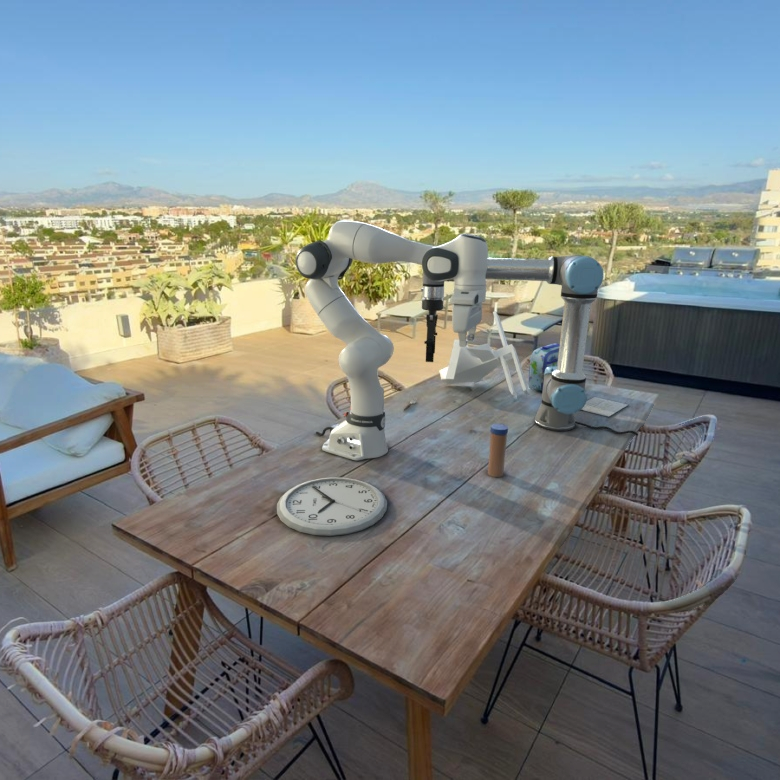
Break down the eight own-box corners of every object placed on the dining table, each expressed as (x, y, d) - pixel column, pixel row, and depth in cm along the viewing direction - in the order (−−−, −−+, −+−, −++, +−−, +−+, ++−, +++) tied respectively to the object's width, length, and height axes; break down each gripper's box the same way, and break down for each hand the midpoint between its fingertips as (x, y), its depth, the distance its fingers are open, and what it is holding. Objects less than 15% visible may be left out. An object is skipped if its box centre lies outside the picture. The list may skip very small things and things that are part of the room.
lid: (487, 430, 160) (487, 425, 159) (500, 427, 162) (501, 422, 162) (497, 436, 156) (497, 431, 155) (511, 433, 158) (511, 428, 157)
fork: (400, 411, 216) (400, 406, 215) (412, 399, 230) (412, 395, 230) (406, 412, 215) (406, 407, 215) (418, 400, 230) (418, 396, 229)
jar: (484, 471, 164) (488, 426, 159) (497, 469, 166) (500, 424, 162) (493, 478, 160) (497, 432, 155) (506, 475, 162) (510, 429, 157)
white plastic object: (461, 429, 252) (437, 405, 227) (444, 352, 274) (420, 323, 250) (535, 404, 240) (518, 377, 215) (510, 326, 262) (492, 293, 237)
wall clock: (392, 527, 129) (268, 531, 127) (391, 533, 130) (269, 537, 127) (383, 473, 158) (282, 475, 155) (383, 478, 158) (282, 480, 156)
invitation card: (608, 416, 214) (573, 407, 224) (608, 416, 214) (573, 408, 224) (628, 404, 229) (594, 396, 238) (628, 405, 229) (594, 397, 238)
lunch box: (544, 395, 239) (549, 351, 233) (524, 390, 247) (528, 347, 240) (571, 384, 257) (577, 343, 251) (552, 380, 264) (556, 339, 258)
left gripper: (467, 290, 156) (465, 335, 161) (449, 298, 138) (446, 349, 142) (488, 291, 154) (485, 337, 158) (472, 299, 136) (469, 351, 140)
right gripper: (424, 293, 195) (422, 349, 202) (419, 302, 172) (417, 365, 178) (444, 294, 195) (441, 350, 201) (442, 303, 171) (439, 366, 177)
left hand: (466, 343), depth 150 cm, fingers open, 8 cm apart
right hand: (430, 357), depth 190 cm, fingers open, 13 cm apart
